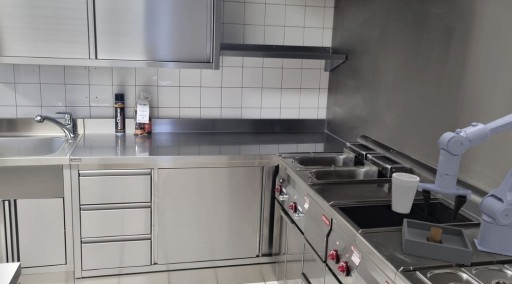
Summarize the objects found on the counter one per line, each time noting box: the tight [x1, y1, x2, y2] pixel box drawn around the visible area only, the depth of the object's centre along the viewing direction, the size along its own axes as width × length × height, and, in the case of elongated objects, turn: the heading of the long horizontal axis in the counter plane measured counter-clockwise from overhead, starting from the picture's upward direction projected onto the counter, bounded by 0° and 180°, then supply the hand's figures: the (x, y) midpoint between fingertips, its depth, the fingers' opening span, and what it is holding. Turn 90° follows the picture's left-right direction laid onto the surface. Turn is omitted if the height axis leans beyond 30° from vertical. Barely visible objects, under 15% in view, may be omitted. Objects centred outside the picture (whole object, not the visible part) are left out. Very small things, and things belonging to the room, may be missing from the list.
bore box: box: [401, 218, 474, 267], centre depth 136 cm, size 18×17×4 cm
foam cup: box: [391, 172, 420, 214], centre depth 165 cm, size 10×9×13 cm
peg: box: [429, 227, 442, 244], centre depth 136 cm, size 3×3×6 cm
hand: (439, 216), depth 136 cm, fingers open, 7 cm apart
